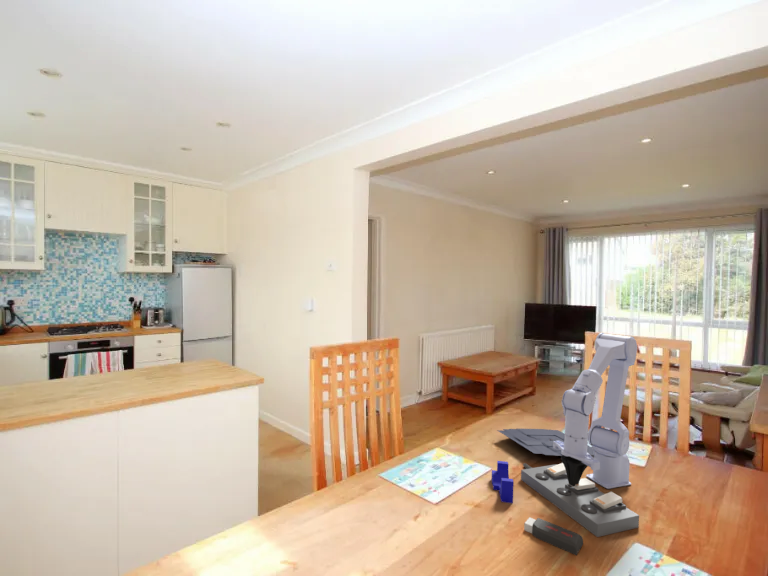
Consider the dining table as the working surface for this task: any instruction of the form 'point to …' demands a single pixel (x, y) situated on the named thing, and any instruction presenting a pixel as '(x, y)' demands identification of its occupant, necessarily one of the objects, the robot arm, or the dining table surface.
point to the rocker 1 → (557, 470)
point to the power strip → (580, 502)
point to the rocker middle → (584, 484)
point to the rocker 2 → (607, 500)
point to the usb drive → (554, 535)
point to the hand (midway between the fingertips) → (573, 484)
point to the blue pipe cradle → (503, 482)
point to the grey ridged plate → (538, 440)
